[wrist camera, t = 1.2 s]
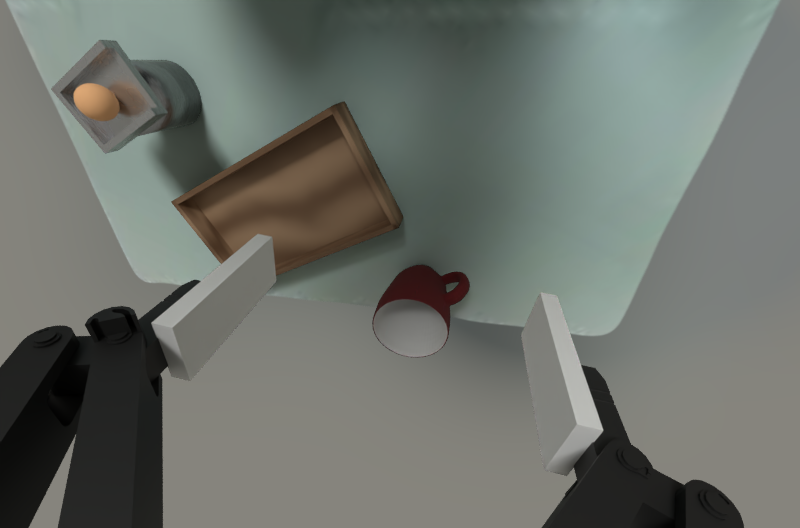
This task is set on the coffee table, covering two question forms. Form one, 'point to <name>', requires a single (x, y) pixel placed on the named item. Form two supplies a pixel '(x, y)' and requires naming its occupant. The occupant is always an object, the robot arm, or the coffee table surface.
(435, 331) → the mug
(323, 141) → the tray
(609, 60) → the coffee table surface
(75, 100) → the ball
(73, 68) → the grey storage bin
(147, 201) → the coffee table surface
